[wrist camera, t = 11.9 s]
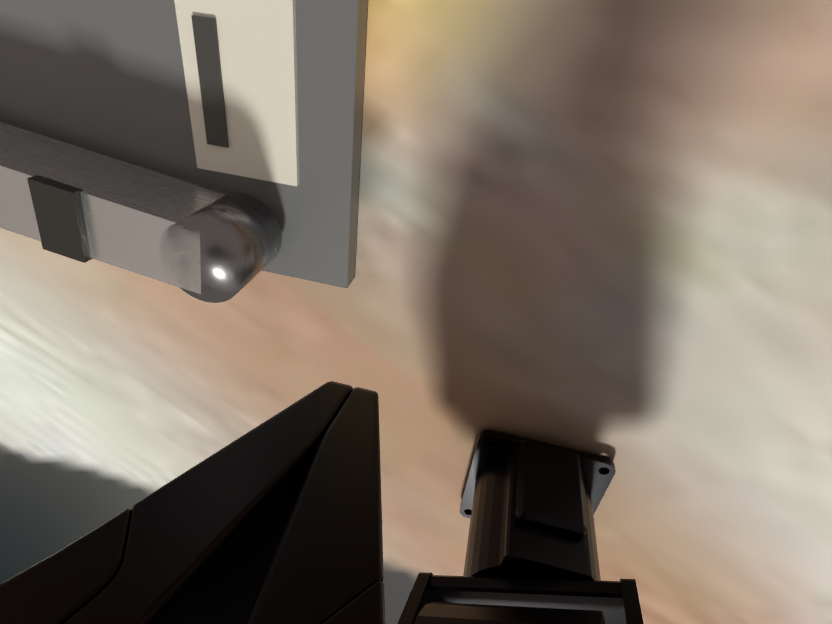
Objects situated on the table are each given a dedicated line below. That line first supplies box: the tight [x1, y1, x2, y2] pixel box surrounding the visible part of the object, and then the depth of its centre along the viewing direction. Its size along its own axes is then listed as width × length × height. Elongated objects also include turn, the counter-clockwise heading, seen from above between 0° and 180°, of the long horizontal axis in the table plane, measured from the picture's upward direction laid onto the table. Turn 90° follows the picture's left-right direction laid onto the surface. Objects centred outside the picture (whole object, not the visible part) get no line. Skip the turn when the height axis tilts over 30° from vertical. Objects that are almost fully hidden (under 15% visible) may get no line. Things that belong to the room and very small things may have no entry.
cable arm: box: [0, 122, 282, 303], centre depth 18 cm, size 18×3×3 cm, turn 76°
